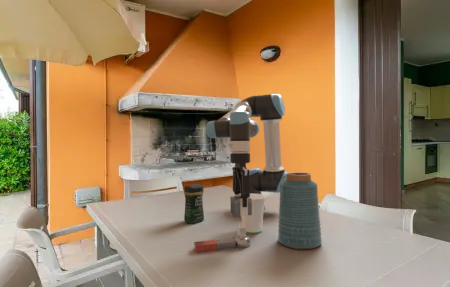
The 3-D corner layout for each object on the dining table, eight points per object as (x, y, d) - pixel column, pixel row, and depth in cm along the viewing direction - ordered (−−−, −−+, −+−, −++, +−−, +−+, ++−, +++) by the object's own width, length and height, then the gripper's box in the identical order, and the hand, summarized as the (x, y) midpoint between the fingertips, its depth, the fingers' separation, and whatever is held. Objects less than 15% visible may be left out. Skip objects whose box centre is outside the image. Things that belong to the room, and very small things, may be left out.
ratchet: (246, 241, 107) (246, 224, 107) (252, 247, 101) (251, 228, 101) (193, 247, 102) (193, 229, 102) (196, 254, 96) (195, 234, 96)
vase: (315, 254, 94) (314, 177, 94) (271, 245, 103) (270, 175, 102) (326, 239, 108) (324, 172, 107) (286, 232, 116) (285, 170, 116)
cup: (268, 227, 124) (268, 194, 124) (263, 236, 112) (263, 199, 112) (242, 225, 128) (241, 192, 128) (234, 234, 116) (234, 198, 116)
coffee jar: (191, 225, 130) (191, 186, 130) (181, 221, 135) (181, 184, 135) (206, 220, 137) (206, 183, 137) (196, 217, 142) (196, 182, 142)
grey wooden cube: (246, 211, 107) (246, 195, 107) (251, 215, 101) (251, 198, 101) (230, 212, 106) (230, 196, 106) (235, 216, 99) (235, 199, 99)
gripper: (224, 152, 112) (225, 208, 112) (238, 153, 93) (239, 221, 93) (241, 151, 114) (242, 206, 114) (258, 153, 95) (259, 219, 95)
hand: (241, 213), depth 103 cm, fingers closed on grey wooden cube, 6 cm apart
